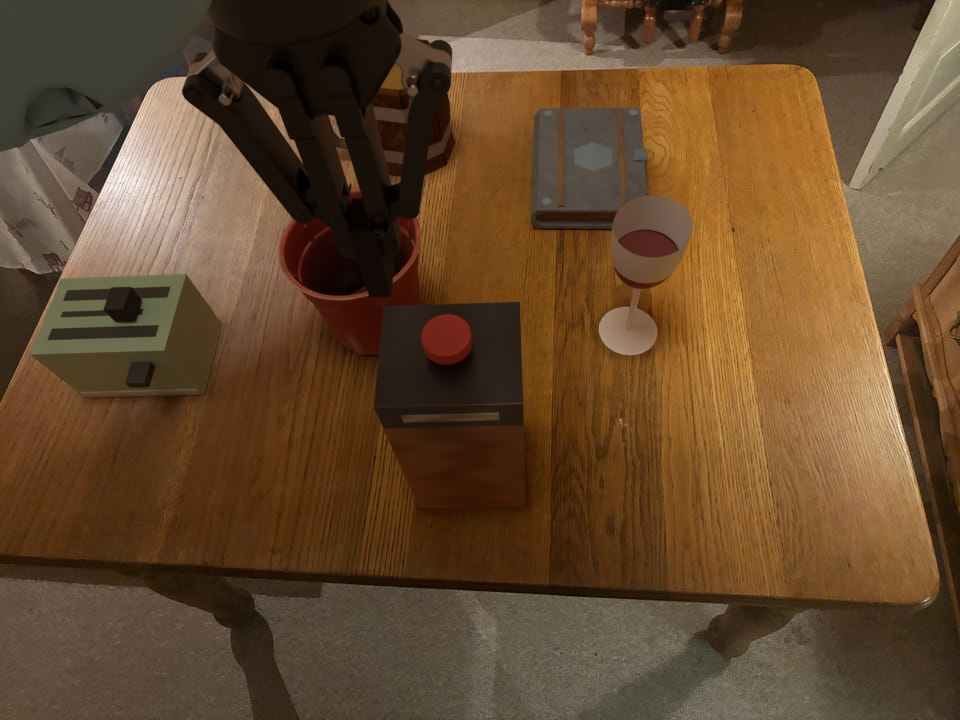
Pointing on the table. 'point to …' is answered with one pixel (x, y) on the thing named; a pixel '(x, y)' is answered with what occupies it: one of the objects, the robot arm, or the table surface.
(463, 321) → the timer button
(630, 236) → the wineglass
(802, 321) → the table surface
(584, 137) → the book
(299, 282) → the flower pot
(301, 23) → the robot arm
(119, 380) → the toaster
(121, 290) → the slider
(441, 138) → the mug
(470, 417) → the red button pedestal
